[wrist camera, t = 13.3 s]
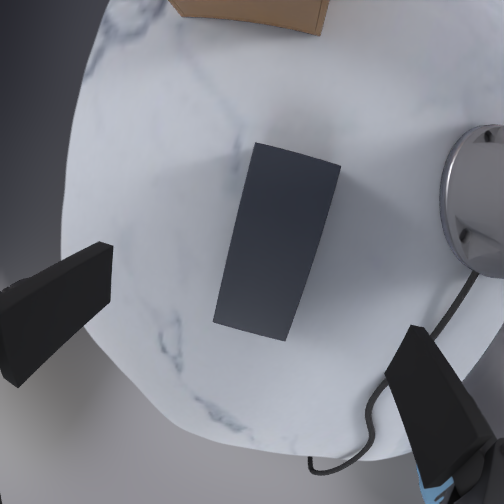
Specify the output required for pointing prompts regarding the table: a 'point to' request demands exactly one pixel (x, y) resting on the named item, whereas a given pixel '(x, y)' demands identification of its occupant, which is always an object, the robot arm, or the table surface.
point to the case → (274, 240)
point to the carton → (260, 12)
